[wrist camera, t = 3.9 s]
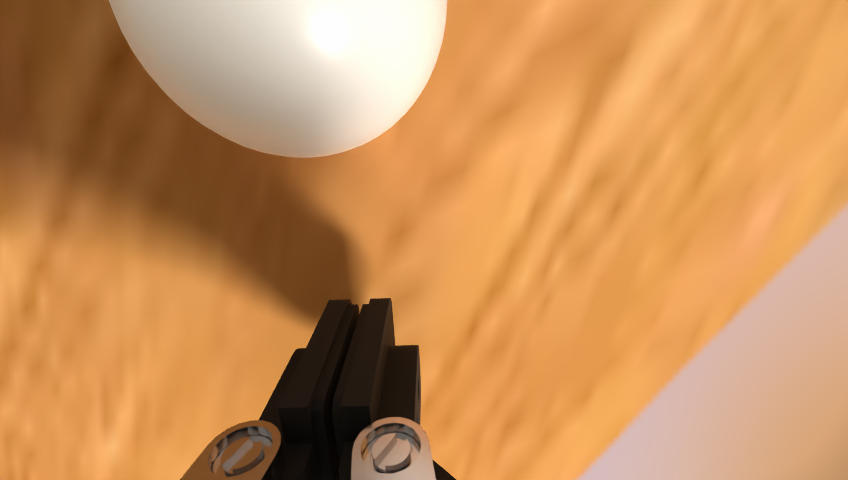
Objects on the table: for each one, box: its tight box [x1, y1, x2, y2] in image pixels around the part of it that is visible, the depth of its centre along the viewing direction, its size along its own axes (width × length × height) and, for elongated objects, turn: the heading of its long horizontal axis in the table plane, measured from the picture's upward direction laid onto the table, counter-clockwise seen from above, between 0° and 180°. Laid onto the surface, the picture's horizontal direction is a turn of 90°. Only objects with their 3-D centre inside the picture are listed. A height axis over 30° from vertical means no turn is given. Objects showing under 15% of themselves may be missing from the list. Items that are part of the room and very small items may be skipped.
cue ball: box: [109, 0, 447, 158], centre depth 7 cm, size 6×6×6 cm
